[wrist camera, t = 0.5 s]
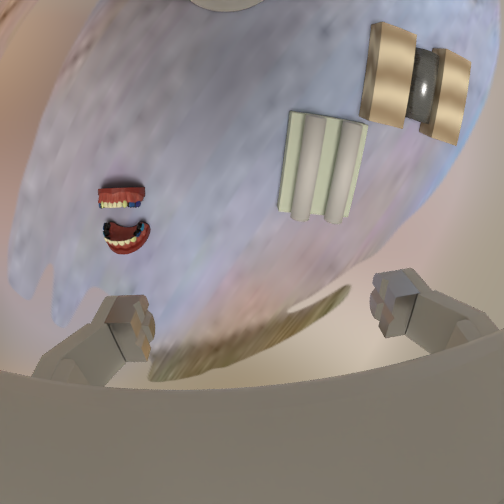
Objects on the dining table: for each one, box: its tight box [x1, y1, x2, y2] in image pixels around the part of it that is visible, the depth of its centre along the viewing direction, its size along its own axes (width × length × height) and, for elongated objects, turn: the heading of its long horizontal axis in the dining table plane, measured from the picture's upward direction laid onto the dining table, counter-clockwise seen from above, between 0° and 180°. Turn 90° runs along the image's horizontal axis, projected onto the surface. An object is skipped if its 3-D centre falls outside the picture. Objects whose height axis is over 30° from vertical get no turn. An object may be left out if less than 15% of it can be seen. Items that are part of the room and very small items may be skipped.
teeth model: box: [98, 187, 150, 254], centre depth 46 cm, size 8×6×12 cm
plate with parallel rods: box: [277, 111, 368, 224], centre depth 43 cm, size 16×12×5 cm
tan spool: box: [359, 22, 471, 146], centre depth 35 cm, size 16×18×4 cm
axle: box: [405, 48, 440, 124], centre depth 35 cm, size 12×5×5 cm, turn 175°
